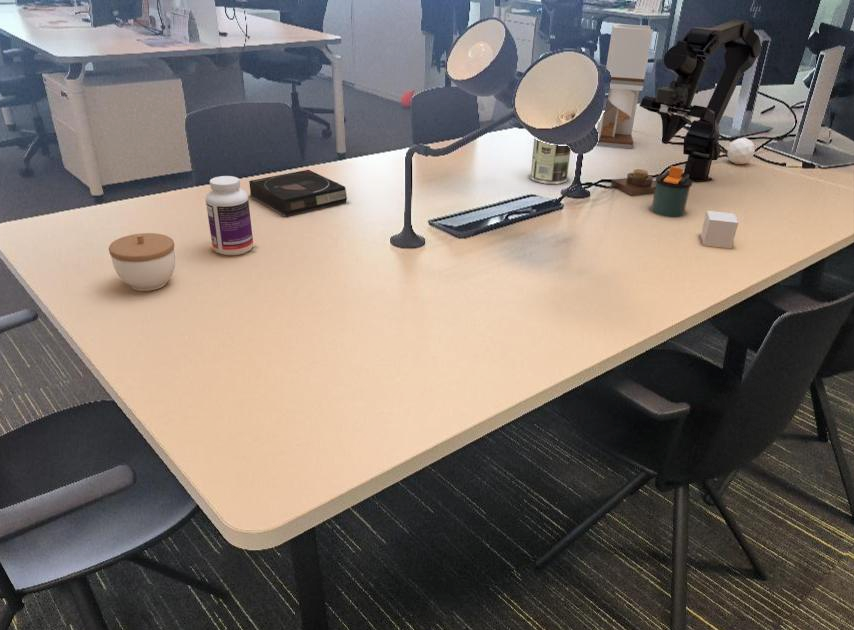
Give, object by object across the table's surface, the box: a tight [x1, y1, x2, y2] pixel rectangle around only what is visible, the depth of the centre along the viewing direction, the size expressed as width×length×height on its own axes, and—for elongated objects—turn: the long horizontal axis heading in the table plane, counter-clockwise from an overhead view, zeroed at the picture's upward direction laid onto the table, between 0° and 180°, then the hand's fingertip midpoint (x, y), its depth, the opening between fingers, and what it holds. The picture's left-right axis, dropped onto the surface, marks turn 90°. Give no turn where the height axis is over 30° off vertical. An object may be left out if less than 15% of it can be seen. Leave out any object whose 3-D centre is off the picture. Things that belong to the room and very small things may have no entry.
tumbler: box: [650, 170, 693, 218], centre depth 172 cm, size 9×9×9 cm
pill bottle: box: [205, 175, 254, 256], centre depth 139 cm, size 8×8×14 cm
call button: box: [632, 168, 649, 179], centre depth 187 cm, size 4×4×2 cm
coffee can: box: [529, 137, 571, 185], centre depth 190 cm, size 10×10×14 cm
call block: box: [610, 171, 657, 197], centre depth 188 cm, size 11×9×4 cm
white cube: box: [700, 210, 739, 249], centre depth 156 cm, size 6×6×6 cm
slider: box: [663, 165, 684, 184], centre depth 168 cm, size 5×3×3 cm
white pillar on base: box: [596, 23, 654, 150], centre depth 221 cm, size 11×11×35 cm
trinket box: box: [108, 232, 176, 292], centre depth 125 cm, size 11×11×9 cm
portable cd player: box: [248, 169, 348, 218], centre depth 168 cm, size 16×17×4 cm
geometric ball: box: [726, 137, 756, 165], centre depth 213 cm, size 8×8×8 cm
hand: (664, 143), depth 179 cm, fingers closed
